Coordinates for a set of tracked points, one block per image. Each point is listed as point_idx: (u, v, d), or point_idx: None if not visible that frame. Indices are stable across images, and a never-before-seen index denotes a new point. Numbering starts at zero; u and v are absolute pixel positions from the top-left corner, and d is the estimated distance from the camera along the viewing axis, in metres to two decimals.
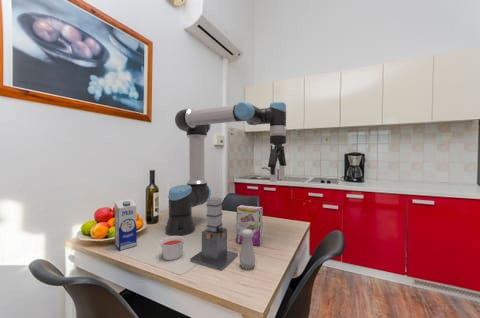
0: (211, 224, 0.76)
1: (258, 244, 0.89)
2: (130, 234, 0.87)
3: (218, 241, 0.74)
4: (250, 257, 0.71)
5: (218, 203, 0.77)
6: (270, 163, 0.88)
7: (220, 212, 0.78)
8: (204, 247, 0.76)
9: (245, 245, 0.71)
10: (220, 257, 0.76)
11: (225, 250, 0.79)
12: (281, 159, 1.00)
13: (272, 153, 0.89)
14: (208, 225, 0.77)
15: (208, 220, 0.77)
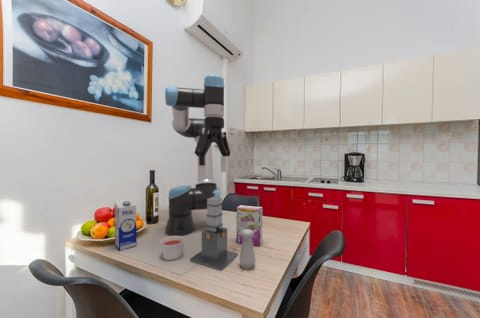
0: (211, 224, 0.76)
1: (258, 244, 0.89)
2: (130, 234, 0.87)
3: (218, 241, 0.74)
4: (250, 257, 0.71)
5: (218, 203, 0.77)
6: (197, 151, 0.69)
7: (220, 212, 0.78)
8: (204, 247, 0.76)
9: (245, 245, 0.71)
10: (220, 257, 0.76)
11: (225, 250, 0.79)
12: (222, 148, 0.81)
13: (201, 139, 0.70)
14: (208, 225, 0.77)
15: (208, 220, 0.77)
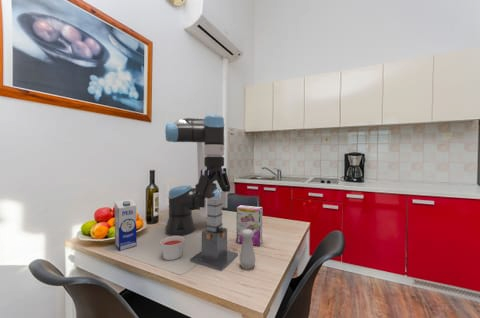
0: (211, 224, 0.76)
1: (258, 244, 0.89)
2: (130, 234, 0.87)
3: (218, 241, 0.74)
4: (250, 257, 0.71)
5: (218, 203, 0.77)
6: (197, 194, 0.69)
7: (220, 212, 0.78)
8: (204, 247, 0.76)
9: (245, 245, 0.71)
10: (220, 257, 0.76)
11: (225, 250, 0.79)
12: (222, 184, 0.82)
13: (201, 181, 0.71)
14: (208, 225, 0.77)
15: (208, 220, 0.77)
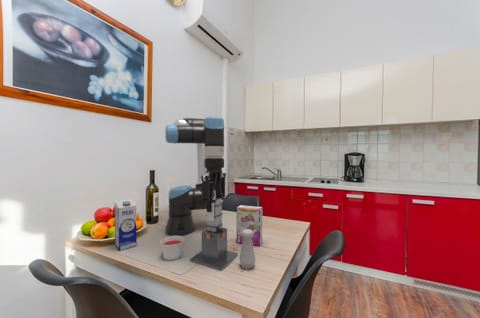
0: (211, 224, 0.76)
1: (258, 244, 0.89)
2: (130, 234, 0.87)
3: (218, 241, 0.74)
4: (250, 257, 0.71)
5: (218, 203, 0.77)
6: (204, 200, 0.73)
7: (220, 212, 0.78)
8: (204, 247, 0.76)
9: (245, 245, 0.71)
10: (220, 257, 0.76)
11: (225, 250, 0.79)
12: (218, 189, 0.80)
13: (205, 187, 0.73)
14: (208, 225, 0.77)
15: (208, 220, 0.77)
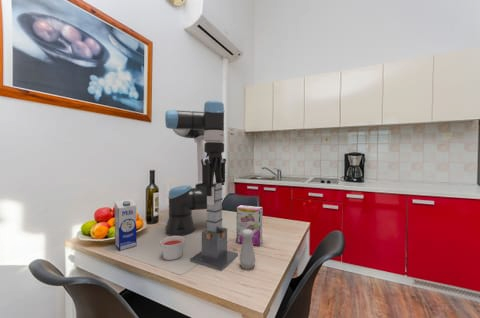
0: (211, 208, 0.76)
1: (258, 244, 0.89)
2: (130, 234, 0.87)
3: (218, 241, 0.74)
4: (250, 257, 0.71)
5: (218, 187, 0.77)
6: (204, 183, 0.73)
7: (220, 197, 0.78)
8: (204, 247, 0.76)
9: (245, 245, 0.71)
10: (220, 257, 0.76)
11: (225, 250, 0.79)
12: (218, 174, 0.79)
13: (204, 171, 0.72)
14: (208, 210, 0.77)
15: (208, 205, 0.77)
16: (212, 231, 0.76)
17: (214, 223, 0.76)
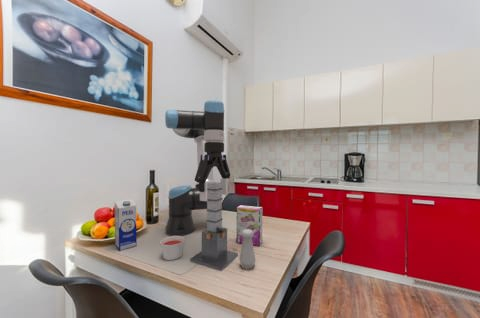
0: (211, 208, 0.76)
1: (258, 244, 0.89)
2: (130, 234, 0.87)
3: (218, 241, 0.74)
4: (250, 257, 0.71)
5: (218, 187, 0.77)
6: (197, 178, 0.69)
7: (220, 197, 0.78)
8: (204, 247, 0.76)
9: (245, 245, 0.71)
10: (220, 257, 0.76)
11: (225, 250, 0.79)
12: (222, 171, 0.82)
13: (201, 165, 0.71)
14: (208, 209, 0.77)
15: (208, 204, 0.77)
16: (212, 231, 0.76)
17: (214, 222, 0.76)
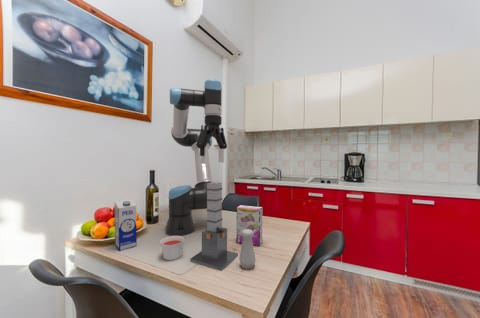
0: (211, 208, 0.76)
1: (258, 244, 0.89)
2: (130, 234, 0.87)
3: (218, 241, 0.74)
4: (250, 257, 0.71)
5: (218, 187, 0.77)
6: (198, 143, 0.83)
7: (220, 197, 0.78)
8: (204, 247, 0.76)
9: (245, 245, 0.71)
10: (220, 257, 0.76)
11: (225, 250, 0.79)
12: (219, 141, 0.95)
13: (202, 133, 0.84)
14: (208, 209, 0.77)
15: (208, 204, 0.77)
16: (212, 231, 0.76)
17: (214, 222, 0.76)
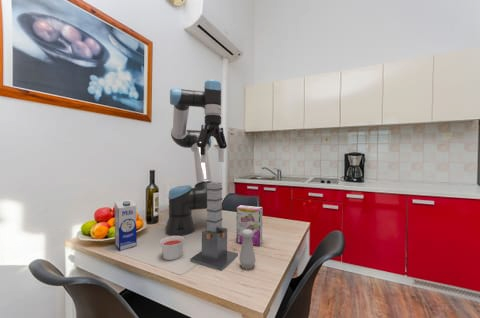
0: (211, 208, 0.76)
1: (258, 244, 0.89)
2: (130, 234, 0.87)
3: (218, 241, 0.74)
4: (250, 257, 0.71)
5: (218, 187, 0.77)
6: (198, 142, 0.84)
7: (220, 197, 0.78)
8: (204, 247, 0.76)
9: (245, 245, 0.71)
10: (220, 257, 0.76)
11: (225, 250, 0.79)
12: (219, 141, 0.96)
13: (202, 133, 0.85)
14: (208, 209, 0.77)
15: (208, 204, 0.77)
16: (212, 231, 0.76)
17: (214, 222, 0.76)
